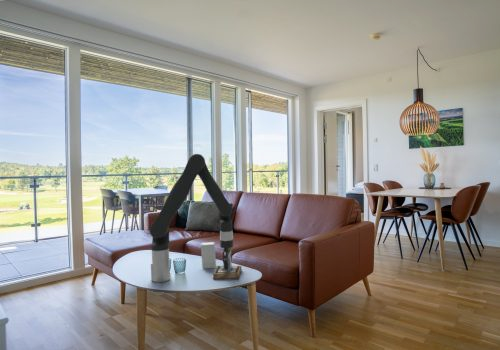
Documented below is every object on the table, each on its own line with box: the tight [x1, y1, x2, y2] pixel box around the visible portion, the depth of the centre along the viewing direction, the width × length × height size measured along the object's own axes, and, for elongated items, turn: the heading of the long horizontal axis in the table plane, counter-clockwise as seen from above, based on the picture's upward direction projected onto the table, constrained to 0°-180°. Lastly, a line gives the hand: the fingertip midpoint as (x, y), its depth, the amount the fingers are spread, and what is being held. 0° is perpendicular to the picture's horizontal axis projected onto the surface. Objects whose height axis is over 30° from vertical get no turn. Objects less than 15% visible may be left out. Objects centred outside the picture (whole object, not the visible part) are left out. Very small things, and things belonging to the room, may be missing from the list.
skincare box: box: [200, 241, 217, 270], centre depth 202 cm, size 8×6×15 cm
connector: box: [222, 254, 233, 271], centre depth 187 cm, size 4×4×10 cm
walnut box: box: [212, 265, 242, 280], centre depth 187 cm, size 14×14×3 cm
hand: (227, 266), depth 187 cm, fingers open, 8 cm apart
